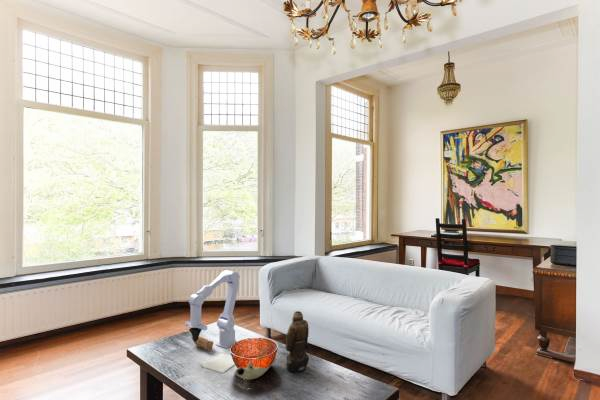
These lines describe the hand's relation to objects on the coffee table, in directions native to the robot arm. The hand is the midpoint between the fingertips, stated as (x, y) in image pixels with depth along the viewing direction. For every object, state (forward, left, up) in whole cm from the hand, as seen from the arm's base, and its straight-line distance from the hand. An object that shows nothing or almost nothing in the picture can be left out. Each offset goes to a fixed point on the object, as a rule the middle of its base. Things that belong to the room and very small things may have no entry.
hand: (195, 340), depth 190 cm
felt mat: (-1, +18, -9) cm, 20 cm away
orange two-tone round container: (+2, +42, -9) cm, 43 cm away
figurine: (-9, +3, -3) cm, 9 cm away
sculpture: (-15, +55, -9) cm, 57 cm away
